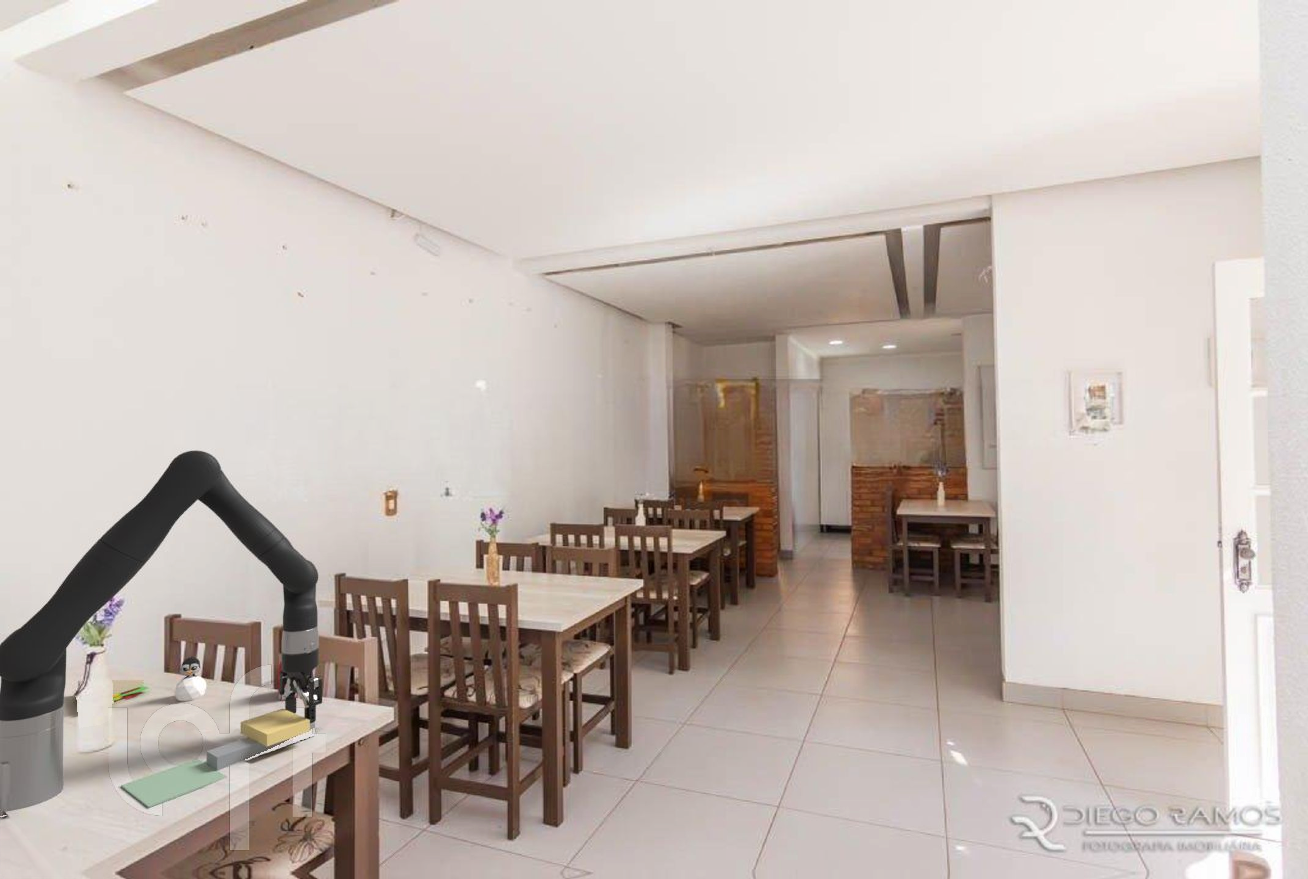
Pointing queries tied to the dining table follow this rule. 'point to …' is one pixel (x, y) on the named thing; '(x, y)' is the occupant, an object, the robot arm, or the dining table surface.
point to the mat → (172, 782)
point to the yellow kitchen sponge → (275, 727)
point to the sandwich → (125, 689)
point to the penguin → (190, 681)
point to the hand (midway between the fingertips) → (300, 718)
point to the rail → (237, 752)
